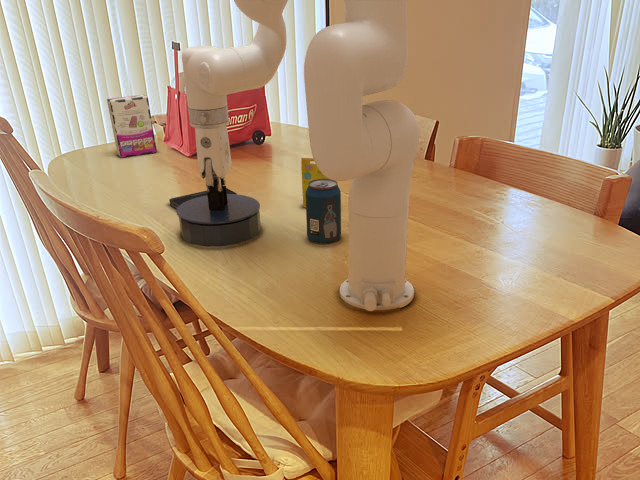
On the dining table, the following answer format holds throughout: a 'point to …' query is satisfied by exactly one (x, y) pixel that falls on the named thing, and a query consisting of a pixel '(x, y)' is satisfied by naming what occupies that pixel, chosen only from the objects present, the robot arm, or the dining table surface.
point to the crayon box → (309, 175)
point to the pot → (221, 232)
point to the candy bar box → (132, 125)
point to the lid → (233, 211)
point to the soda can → (323, 211)
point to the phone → (191, 197)
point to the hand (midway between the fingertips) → (218, 206)
